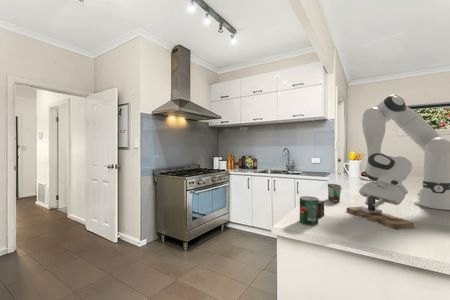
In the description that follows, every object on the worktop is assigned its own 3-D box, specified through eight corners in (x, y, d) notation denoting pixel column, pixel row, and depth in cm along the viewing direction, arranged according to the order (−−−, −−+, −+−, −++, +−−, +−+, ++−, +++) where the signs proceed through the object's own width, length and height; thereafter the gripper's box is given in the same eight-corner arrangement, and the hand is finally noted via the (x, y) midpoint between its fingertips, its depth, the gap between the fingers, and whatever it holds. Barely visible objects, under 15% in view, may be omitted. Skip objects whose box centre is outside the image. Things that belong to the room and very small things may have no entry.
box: (324, 215, 108) (324, 201, 108) (320, 218, 104) (320, 203, 104) (312, 213, 113) (312, 199, 112) (307, 216, 108) (307, 201, 108)
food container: (344, 204, 131) (345, 187, 131) (333, 203, 132) (334, 186, 132) (337, 199, 143) (337, 183, 143) (327, 198, 144) (327, 183, 144)
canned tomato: (295, 221, 100) (295, 197, 100) (308, 218, 104) (308, 195, 104) (309, 227, 93) (309, 201, 93) (322, 224, 97) (322, 199, 97)
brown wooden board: (346, 211, 116) (346, 207, 116) (362, 210, 118) (362, 206, 118) (395, 229, 90) (395, 224, 90) (414, 227, 93) (414, 222, 93)
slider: (361, 210, 109) (361, 196, 108) (372, 209, 110) (373, 195, 110) (370, 213, 104) (370, 198, 104) (382, 212, 105) (382, 197, 105)
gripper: (365, 177, 118) (350, 196, 116) (404, 183, 98) (386, 206, 96) (372, 185, 119) (357, 204, 117) (412, 192, 99) (394, 216, 97)
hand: (370, 205), depth 107 cm, fingers closed on slider, 3 cm apart
